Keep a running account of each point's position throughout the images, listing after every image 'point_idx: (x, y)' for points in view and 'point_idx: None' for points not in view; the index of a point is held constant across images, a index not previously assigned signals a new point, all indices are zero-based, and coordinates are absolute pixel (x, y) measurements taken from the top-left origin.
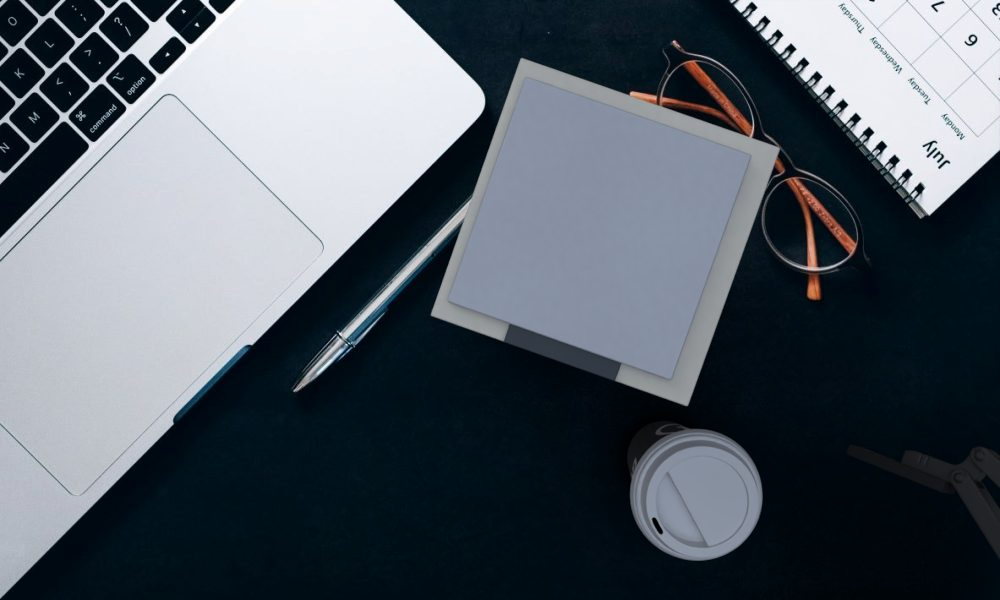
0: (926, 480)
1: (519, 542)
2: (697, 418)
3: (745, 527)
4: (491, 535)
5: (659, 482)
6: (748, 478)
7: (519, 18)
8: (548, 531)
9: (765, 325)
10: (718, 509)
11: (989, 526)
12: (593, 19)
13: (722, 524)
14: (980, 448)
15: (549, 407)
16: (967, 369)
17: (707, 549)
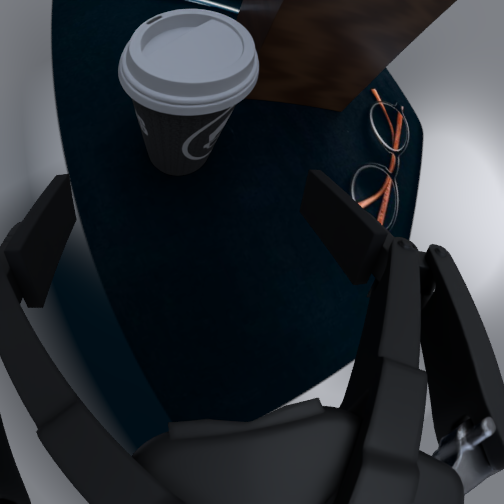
0: (367, 220)
1: (87, 87)
2: (219, 161)
3: (179, 76)
4: (90, 73)
5: (198, 13)
6: (237, 68)
7: None
8: (98, 98)
9: None
10: (189, 55)
11: (402, 295)
12: (387, 74)
13: (173, 61)
14: (445, 249)
15: None
16: (344, 348)
17: (141, 54)
